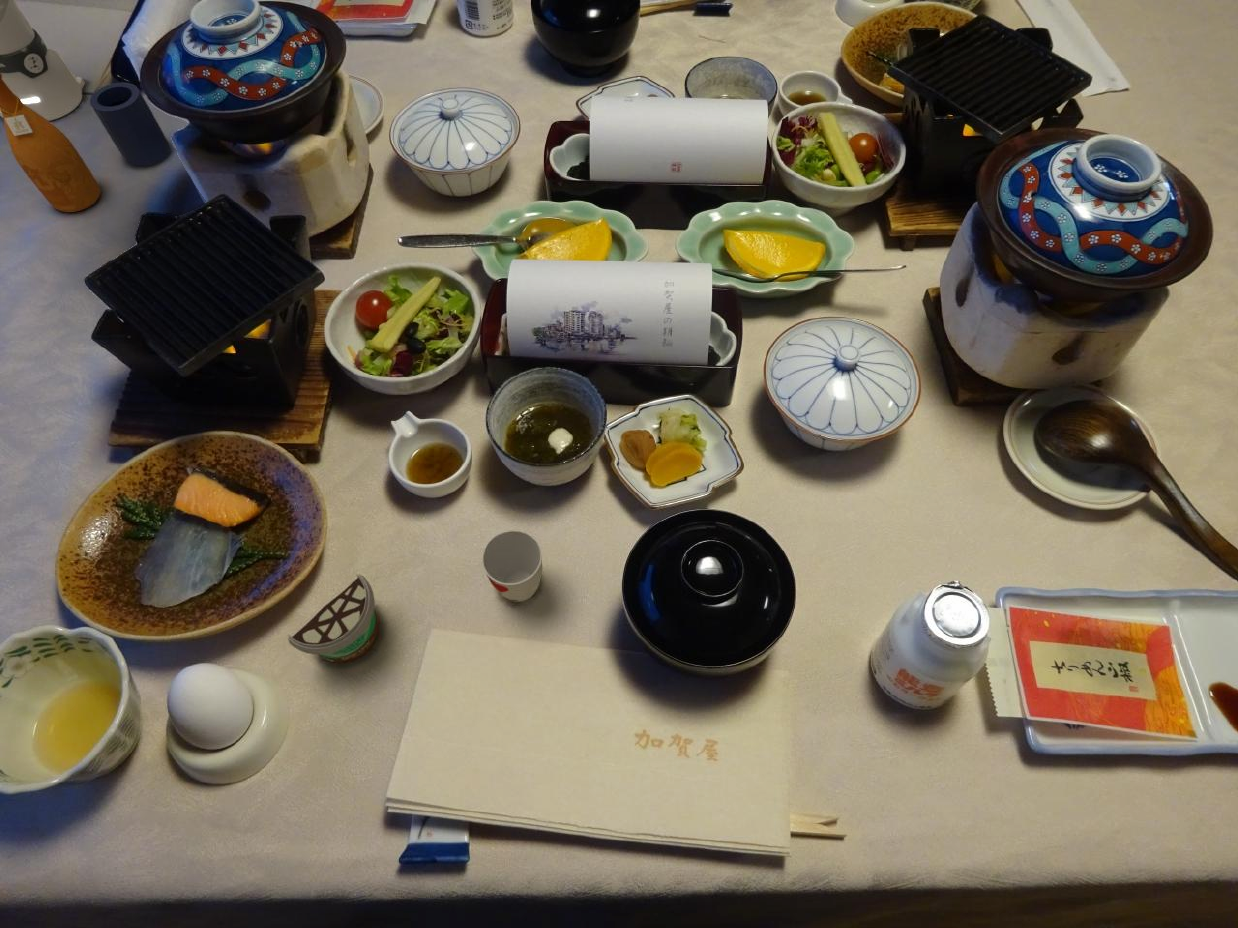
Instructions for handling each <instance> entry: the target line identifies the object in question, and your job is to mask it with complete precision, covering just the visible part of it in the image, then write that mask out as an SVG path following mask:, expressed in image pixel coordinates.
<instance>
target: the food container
mask: <svg viewBox="0 0 1238 928" xmlns="http://www.w3.org/2000/svg"><path fill="white" fill-rule="evenodd" d="M355 575H356V577H357V578H356V579H355V580H354V581H352V582H351V583H350V584H349V585H348V586H347V587H346V588H345V589H344V590H343V591H342V592H340V593H339V594H338V595H337V596H336V597H334V598H332V599H331V600H330V601H329V602H328V603H326V604H325V605H324V606H323V607H322V608H321V609H320V610H319V611H318V612H317V613H316V614H315V615H314V616H313V617H312V618H311V619H310V620H309V621H308V622H307V623H306V624H305V625H304V626H303V627H301V628H300V629H299V630H298V631H297V632H296V633H295V634H294V635H293V636H291V635H289V634H288V635H287V637H288V638H287V640H288V643H289V644H290V645H291V646H292V647H293V648H294V649H296V650H298V651H300V652H302V653H306V654H309V655H317V656H319V657H320V658H321V659H323V660H326V661H328V662H331V663H334V664H347V663H351V662H354V661H358V660H359V659H360V658H362V657H364V656H366V654H368V653H369V652H370V651H371V649H372V648H373V647H374V646H375V644H376V642H377V640H378V637H379V635H380V619H379V616H378V614H377V611H376V609H375V594H374V590H373V588H372V586H371V584H370V582H369V581H368V580H367V578H365V576H363V575H362V574H360V573H359V574H357V573H355Z"/></svg>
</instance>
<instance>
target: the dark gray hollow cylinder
mask: <svg viewBox="0 0 1238 928" xmlns="http://www.w3.org/2000/svg"><path fill="white" fill-rule="evenodd" d="M89 105H90V107H91V108H92V109H93V111H94V113H95V115H96V116H97V118H98V120H99V121H100V123H101V125H102V126H103V128H104V129H105V131H106V132H107V134H108V136H109V137H110V139H111V140H112V142H113V144H114V145H115V147H116V149H117V150H118V151H119V154H120V155H121V156H122V158H123V159H124V161H125V162H126V163H127V165H129V166H132V167H133V168H141V169H142V168H149V167H153V166H156V165H158V164H161V163H162V162H164V161H165V160H166V159H168V157H169V155H170V154H171V151H172V147H171V145H170V142H169V141H168V139H167V138H166V135H165V134H164V132H163V130H162V129H161V126H160V124H159V122H158V121H157V119H156V118H155V115H154V114H153V112H152V110H151V108H150V107H149V105H148V103H147V101H146V99H145V98H144V96H143V94H142V92H141V90H140V89H139V87H138V86H137V85H135V84H133V83H131V82H113V83H109V84H106V85H104V86H102V87H100V88H98V89H97V90H95V91H94V92H93V93H92V94H91V96H90V98H89Z"/></svg>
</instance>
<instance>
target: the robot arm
mask: <svg viewBox="0 0 1238 928" xmlns="http://www.w3.org/2000/svg"><path fill="white" fill-rule="evenodd" d="M0 73H1V75H2V80H3V81H4V83H5V84H6V85H7V86H8V88H9V89H10V90H11V91H12V93H13V94H15V95H16V96H17V97H18V98H19V99H20V100H21V101H22V102H23V103H24V104H25V105H26V106H28V107H29V108H30V109H32V110H33V111H35V112H36V113H38V114H39V115H41V116H42V117H44V118H45V119H46V120H48V121H49V122H51V121H55V120H57V119H60V118H62V117H65V116H66V115H68V114H70V113H72V112H73V111H75V110H76V108H77V107H78V106H79V105H80V104H81V102H82V100H83V88H84V87H85V84H86V82H85V80H84V79H83V78H82V77H81V76H78V75H74V74H73V73H72V72H71V70H70V68H69V67H68V65H67V64H66V63H65V61H64V60H63V58H62V57H61V56H60V54H59V53H58V52H57V51H56V50H53V49H50V48H48V47H47V45H46V44H45V42H44V40H43V38H42V36H40V34H39V33H38V31H37V30H36V29H35V28H33V27H32V26H31V24H30V23H29V21H28V19H27V18H26V16H25V15H24V13H23V12H22V10H21V9H20V7H19V6H18V4H17V3H16V1H15V0H0ZM0 118H2V119H3V115H2V112H1V110H0Z"/></svg>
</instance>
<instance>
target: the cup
mask: <svg viewBox="0 0 1238 928" xmlns="http://www.w3.org/2000/svg"><path fill="white" fill-rule="evenodd" d="M481 564H482V568H483V570H484V573H485V574H486V576H487V579H488V581H489V582H490V584H491V586H492V587H493V588H494V589H495V590H496V591H497V592H498V594H499V595H500V596H502V598H505V599H507V600H509V601H512V602H514V603H522V602H525V601H528V600H529V599H530V598H531V597H532V596H533V595H534V594H535V593H536V591H538V588H539V586H540V583H541V578H542V574H543V553H542V548H541V545H540V543H539V541H538V540H537V539H536V538H535V537H534V536H533V535H531V534H530V533H528V532H526V531H523V530H517V529H510V530H504V531H501V532H499V533H497V534H496V535H494V536H492V537H491V538H490V539H489V540H488V541H487V543H486V544H485V545H484V548H483V550H482V553H481Z"/></svg>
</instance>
